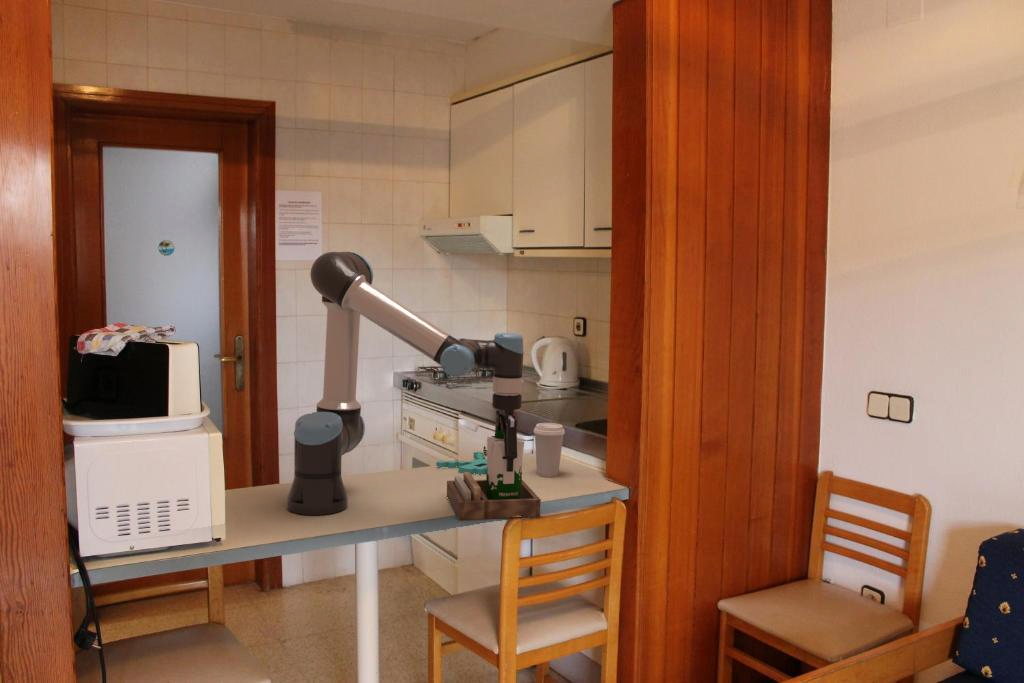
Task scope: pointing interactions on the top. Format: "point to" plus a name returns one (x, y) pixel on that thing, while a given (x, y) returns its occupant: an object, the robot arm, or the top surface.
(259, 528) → the top surface
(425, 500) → the top surface
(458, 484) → the grey offcut
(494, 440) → the soya milk
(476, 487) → the birch offcut
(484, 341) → the robot arm
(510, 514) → the offcut rack
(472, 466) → the alien figure
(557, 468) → the coffee cup
